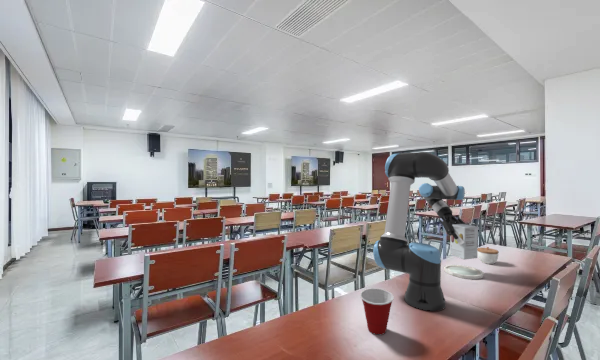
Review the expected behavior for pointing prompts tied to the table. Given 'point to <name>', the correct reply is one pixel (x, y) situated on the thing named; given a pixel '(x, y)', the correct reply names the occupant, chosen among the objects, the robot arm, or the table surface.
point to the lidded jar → (487, 255)
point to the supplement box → (470, 239)
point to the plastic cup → (377, 308)
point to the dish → (463, 271)
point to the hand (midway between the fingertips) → (469, 242)
